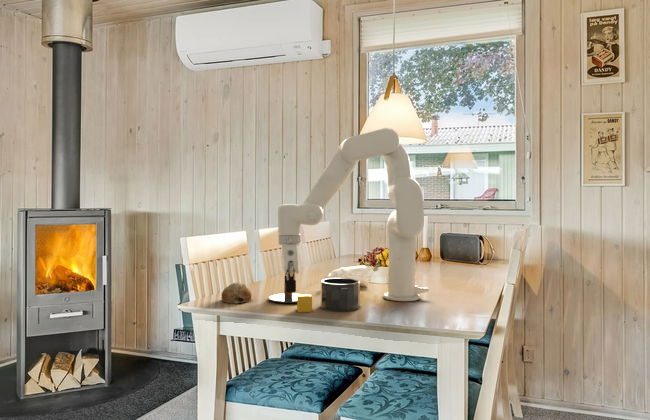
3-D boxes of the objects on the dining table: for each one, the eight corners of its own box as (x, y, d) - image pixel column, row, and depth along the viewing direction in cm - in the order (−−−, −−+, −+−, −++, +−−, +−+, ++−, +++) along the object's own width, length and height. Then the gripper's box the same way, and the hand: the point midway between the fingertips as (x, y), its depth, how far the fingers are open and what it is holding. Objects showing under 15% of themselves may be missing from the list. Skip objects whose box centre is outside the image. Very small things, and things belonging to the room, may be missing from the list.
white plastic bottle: (320, 288, 203) (320, 268, 203) (358, 283, 214) (358, 264, 214) (332, 291, 197) (332, 270, 197) (371, 286, 208) (371, 266, 207)
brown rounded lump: (224, 314, 174) (227, 294, 171) (216, 296, 182) (219, 277, 179) (252, 311, 178) (256, 292, 175) (244, 294, 186) (247, 275, 183)
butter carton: (310, 309, 167) (310, 294, 167) (312, 311, 163) (312, 296, 163) (297, 309, 166) (297, 294, 166) (298, 312, 163) (298, 296, 163)
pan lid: (305, 296, 188) (305, 280, 188) (309, 304, 174) (309, 287, 174) (268, 296, 186) (268, 281, 186) (269, 304, 173) (269, 288, 173)
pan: (353, 300, 180) (353, 276, 180) (364, 312, 162) (364, 285, 162) (318, 301, 178) (318, 276, 178) (324, 313, 161) (324, 286, 161)
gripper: (302, 242, 171) (303, 293, 172) (298, 237, 189) (299, 284, 189) (279, 242, 171) (280, 294, 171) (277, 238, 188) (278, 285, 188)
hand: (290, 289), depth 180 cm, fingers open, 9 cm apart
